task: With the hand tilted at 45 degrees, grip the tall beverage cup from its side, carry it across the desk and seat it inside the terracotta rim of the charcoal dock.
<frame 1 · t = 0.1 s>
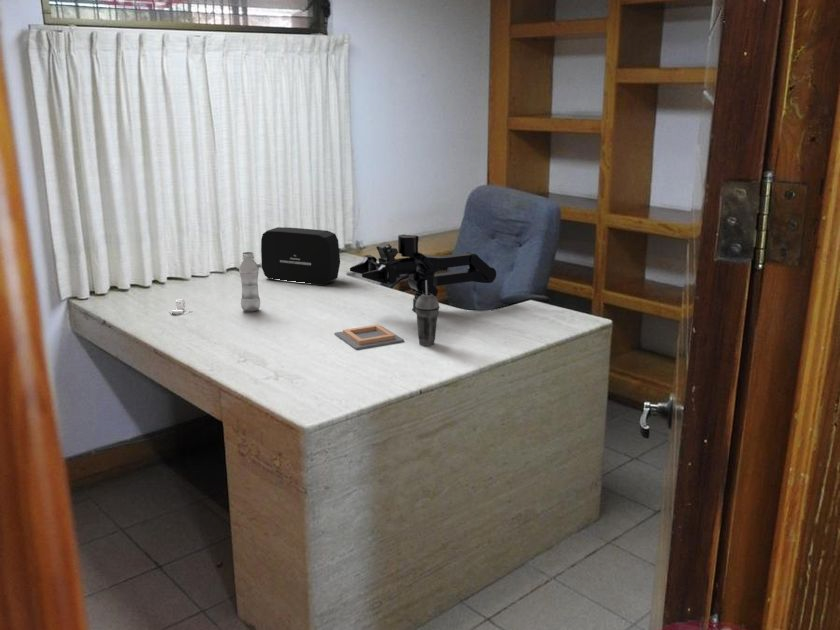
hand: (355, 272, 249), 17 cm above the table, tool horizontal, fingers open, 9 cm apart
cup dock: (368, 338, 238), on the table
beverage cup: (426, 344, 233), on the table
black hard case: (303, 280, 306), on the table
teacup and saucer: (172, 313, 263), on the table
plastic bottle: (251, 311, 264), on the table
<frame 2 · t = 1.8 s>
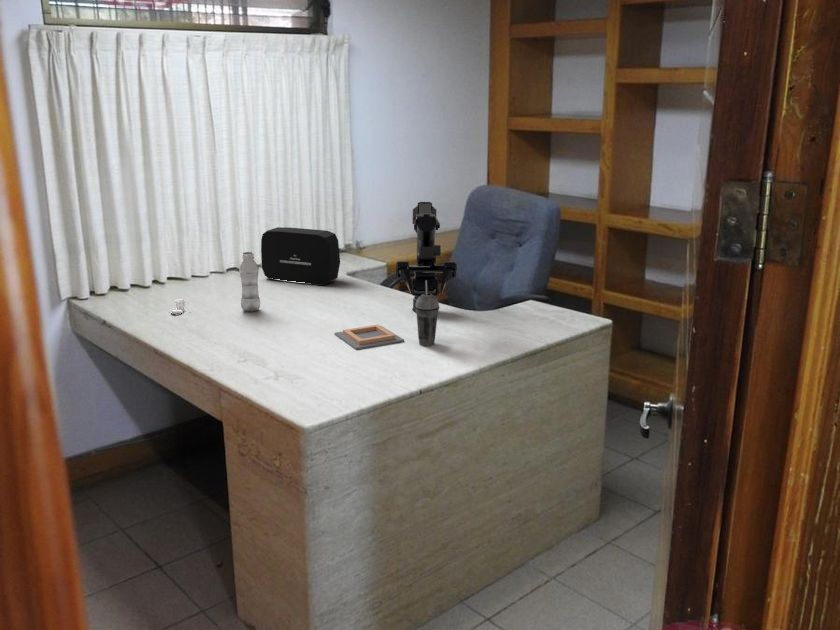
hand: (426, 293, 236), 14 cm above the table, tool tilted 45°, fingers open, 9 cm apart
nothing on the table moved.
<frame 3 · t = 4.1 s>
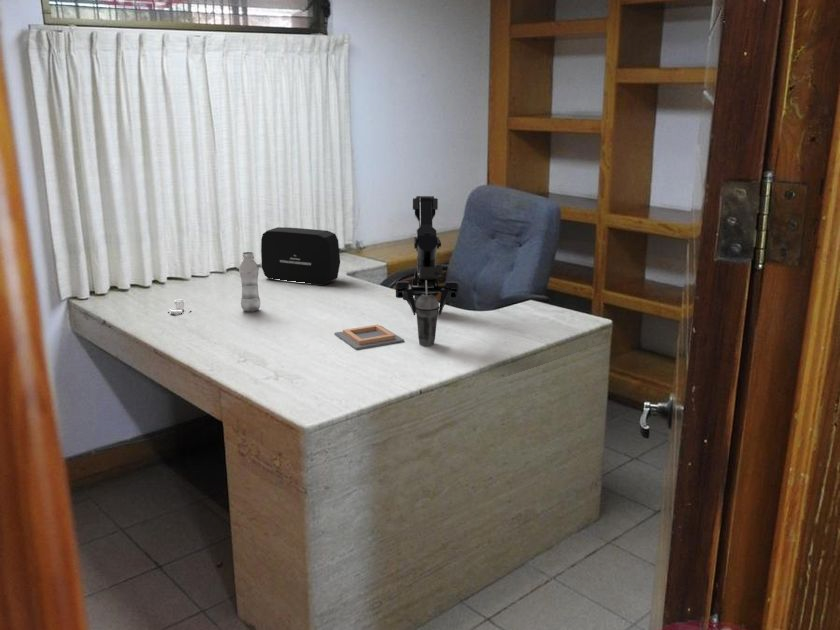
hand: (427, 314, 229), 10 cm above the table, tool tilted 45°, fingers closed on beverage cup, 7 cm apart
beverage cup: (426, 344, 233), on the table, touching gripper
everything else where it was.
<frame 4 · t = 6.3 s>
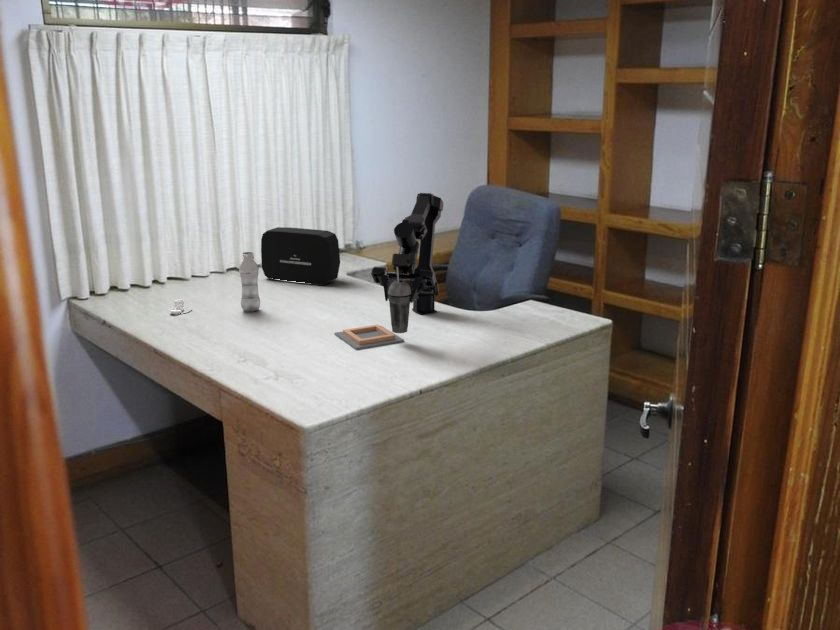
hand: (398, 301, 229), 13 cm above the table, tool tilted 45°, fingers closed on beverage cup, 7 cm apart
beverage cup: (399, 331, 233), point 3 cm above the table, touching gripper
everything else where it was.
when the fingers open (11 cm above the table, at t = 8.7 s): beverage cup stays where it is, resting on cup dock.
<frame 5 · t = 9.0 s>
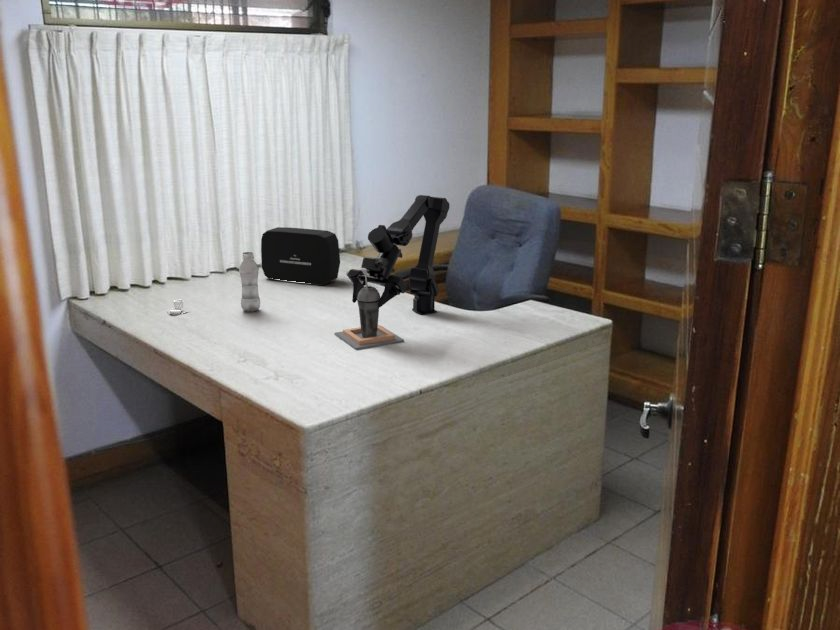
hand: (365, 304, 233), 11 cm above the table, tool tilted 45°, fingers open, 9 cm apart
beverage cup: (369, 336, 238), resting on cup dock
everything else where it was.
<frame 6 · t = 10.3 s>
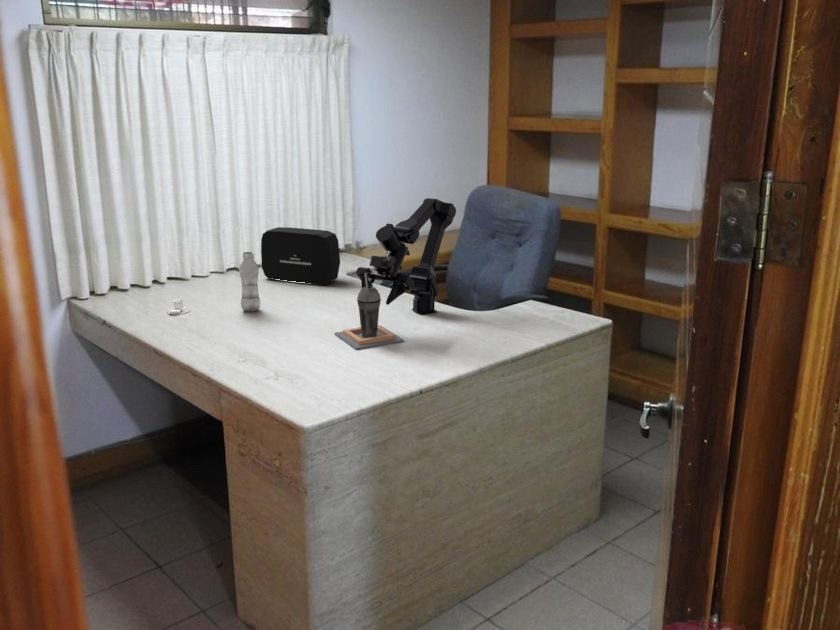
hand: (374, 301, 237), 11 cm above the table, tool tilted 45°, fingers open, 9 cm apart
nothing on the table moved.
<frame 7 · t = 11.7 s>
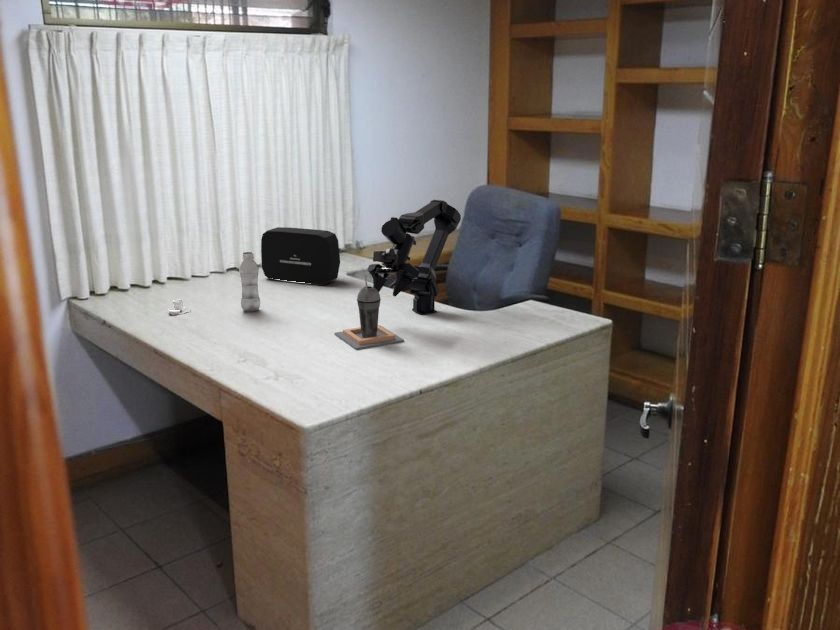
hand: (384, 295, 242), 11 cm above the table, tool tilted 35°, fingers open, 9 cm apart
nothing on the table moved.
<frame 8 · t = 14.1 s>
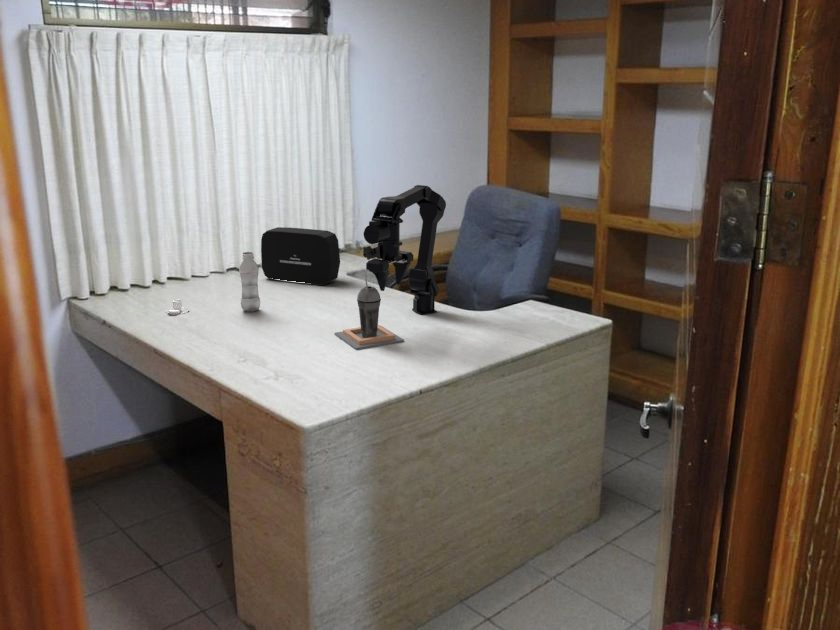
hand: (390, 287, 245), 13 cm above the table, tool pointing down, fingers open, 9 cm apart
at the end: beverage cup 0.2 cm off-centre on the cup dock, point 0.4 cm above the cup dock's base; beverage cup tilted 0°; the gripper is holding nothing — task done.
